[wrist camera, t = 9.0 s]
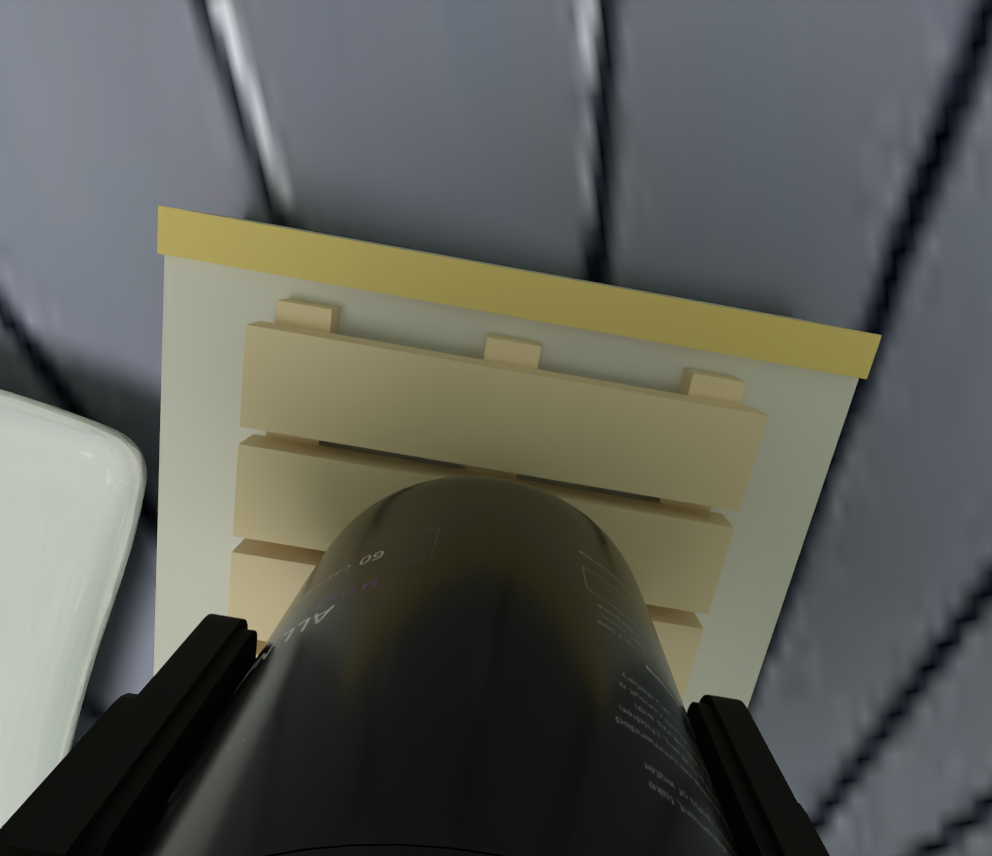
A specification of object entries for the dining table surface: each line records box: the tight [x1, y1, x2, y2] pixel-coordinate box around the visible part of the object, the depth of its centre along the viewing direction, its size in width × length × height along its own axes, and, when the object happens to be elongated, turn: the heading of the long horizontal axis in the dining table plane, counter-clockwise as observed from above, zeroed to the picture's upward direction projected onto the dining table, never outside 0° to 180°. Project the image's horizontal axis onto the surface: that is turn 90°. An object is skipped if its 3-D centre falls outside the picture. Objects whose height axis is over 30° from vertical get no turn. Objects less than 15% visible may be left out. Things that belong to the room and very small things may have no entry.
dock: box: [154, 206, 882, 713], centre depth 17 cm, size 16×14×6 cm
